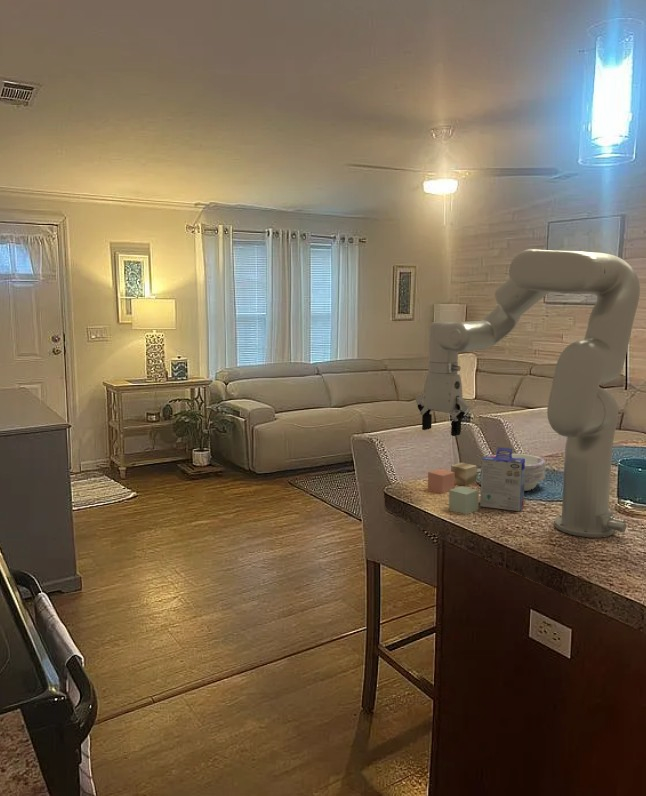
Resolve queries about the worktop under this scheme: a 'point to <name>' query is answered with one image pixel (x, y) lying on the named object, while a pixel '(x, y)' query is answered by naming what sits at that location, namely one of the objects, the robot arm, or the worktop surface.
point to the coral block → (441, 481)
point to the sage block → (463, 499)
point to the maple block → (464, 474)
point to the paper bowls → (532, 470)
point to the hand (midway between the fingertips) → (440, 432)
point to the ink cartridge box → (502, 481)
